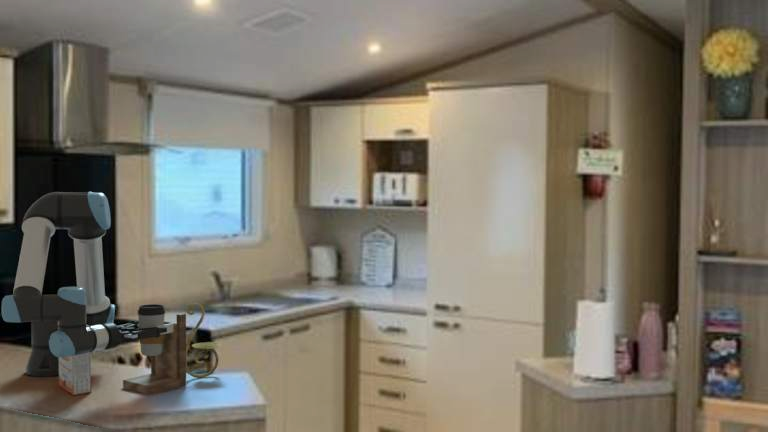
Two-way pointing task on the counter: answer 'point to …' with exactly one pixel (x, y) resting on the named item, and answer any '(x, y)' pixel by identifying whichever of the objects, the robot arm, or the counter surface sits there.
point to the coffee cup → (148, 319)
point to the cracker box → (75, 373)
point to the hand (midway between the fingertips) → (164, 326)
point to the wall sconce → (201, 345)
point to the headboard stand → (165, 363)
